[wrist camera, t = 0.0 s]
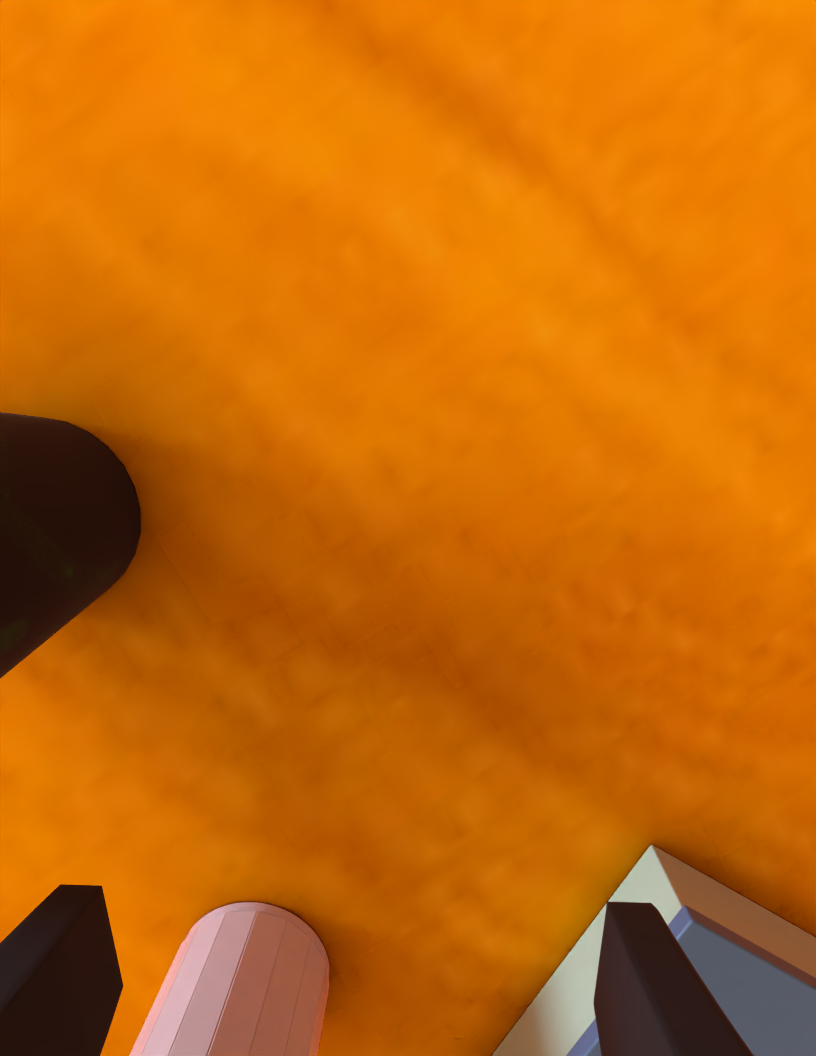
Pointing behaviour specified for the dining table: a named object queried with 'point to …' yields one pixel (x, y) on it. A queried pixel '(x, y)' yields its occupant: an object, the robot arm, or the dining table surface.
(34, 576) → the cup
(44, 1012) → the robot arm
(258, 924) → the white cylindrical tumbler
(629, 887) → the blue hardcover book
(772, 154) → the dining table surface
